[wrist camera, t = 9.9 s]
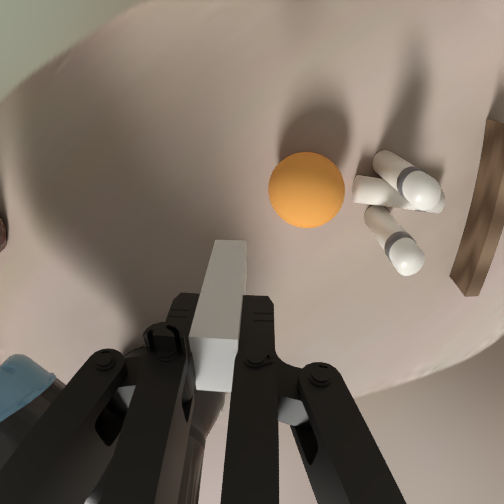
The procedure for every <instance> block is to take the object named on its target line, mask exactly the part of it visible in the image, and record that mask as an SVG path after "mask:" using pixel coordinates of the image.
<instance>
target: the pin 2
mask: <svg viewBox="0 0 504 504" xmlns="http://www.w3.org/2000/svg"><path fill="white" fill-rule="evenodd" d="M364 220H365V223H366V224H367V226H368V227H369V228H370V230H371V231H372V233H373V234H374V236H375V237H376V239H377V240H378V242H379V243H380V245H381V246H382V248H383V249H384V251H385V253H386V255H387V257H388V258H389V260H390V261H391V263H393V265H394V266H395V268H396V270H397V271H398V272H399V273H400V274H401V275H404V276H409V275H413V274H415V273H416V272H418V271H419V270H420V269H421V267H422V266H423V264H424V260H425V256H424V253H423V251H422V250H421V249H420V247H419V246H418V245H417V243H416V242H415V240H414V239H413V238H412V237H411V236H410V235H409V234H408V233H407V232H406V231H405V230H404V228H403V227H402V226H401V225H400V224H399V223H398V222H397V220H396V219H395V218H394V217H393V216H392V215H391V214H390V213H389V212H388V210H387V209H386V208H385V207H384V206H379V205H372V206H370V207H369V208H368V209H367V210H366V212H365V215H364Z"/></svg>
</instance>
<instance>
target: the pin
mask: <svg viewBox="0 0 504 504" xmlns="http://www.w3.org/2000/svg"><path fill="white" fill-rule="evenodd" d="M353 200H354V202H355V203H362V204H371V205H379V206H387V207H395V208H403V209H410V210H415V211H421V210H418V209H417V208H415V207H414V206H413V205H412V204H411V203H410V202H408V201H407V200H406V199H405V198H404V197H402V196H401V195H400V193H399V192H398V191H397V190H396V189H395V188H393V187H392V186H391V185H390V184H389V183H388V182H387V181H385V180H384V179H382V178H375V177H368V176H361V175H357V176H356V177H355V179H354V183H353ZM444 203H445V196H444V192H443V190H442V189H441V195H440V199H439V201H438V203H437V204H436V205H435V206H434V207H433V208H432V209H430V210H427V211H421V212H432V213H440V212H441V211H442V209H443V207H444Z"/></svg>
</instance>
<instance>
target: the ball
mask: <svg viewBox="0 0 504 504" xmlns="http://www.w3.org/2000/svg"><path fill="white" fill-rule="evenodd" d="M344 195H345V186H344V181H343V178H342V175H341V173H340V171H339V170H338V168H337V167H336V166H335V164H334V163H333V162H332V161H330V160H329V159H328V158H326V157H324V156H322V155H320V154H317V153H312V152H300V153H295V154H292V155H290V156H288V157H286V158H285V159H283V160H282V161H281V162H280V163H279V164H278V165H277V166H276V168H275V169H274V171H273V172H272V175H271V177H270V181H269V198H270V202H271V204H272V206H273V208H274V210H275V211H276V213H277V214H278V215H279V216H280V217H281V218H282V219H283V220H285V221H286V222H288V223H289V224H291V225H294V226H297V227H301V228H313V227H318V226H321V225H323V224H325V223H327V222H328V221H330V220H331V219H332V218H333V217H334V216H335V215H336V214H337V213H338V211H339V210H340V208H341V206H342V204H343V200H344Z"/></svg>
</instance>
